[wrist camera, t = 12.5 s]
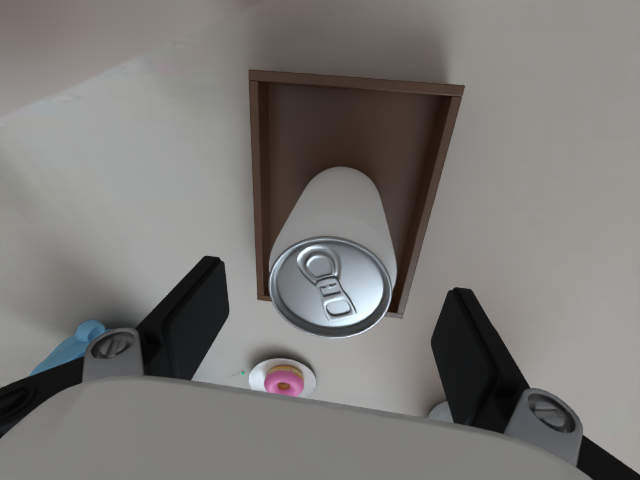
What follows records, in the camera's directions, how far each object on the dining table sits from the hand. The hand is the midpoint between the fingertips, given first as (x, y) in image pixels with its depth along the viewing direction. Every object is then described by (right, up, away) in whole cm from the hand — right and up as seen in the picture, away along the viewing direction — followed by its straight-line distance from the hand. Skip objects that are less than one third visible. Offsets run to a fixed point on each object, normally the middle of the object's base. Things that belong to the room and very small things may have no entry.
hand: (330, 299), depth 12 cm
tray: (+1, +6, +12) cm, 14 cm away
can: (+1, +6, +12) cm, 13 cm away
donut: (-6, -15, +24) cm, 29 cm away
